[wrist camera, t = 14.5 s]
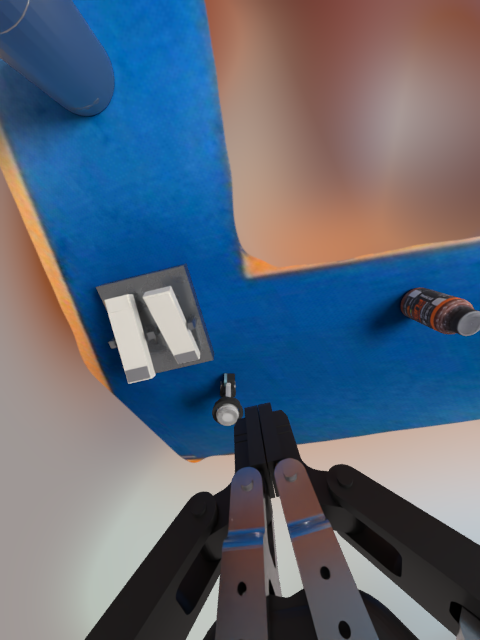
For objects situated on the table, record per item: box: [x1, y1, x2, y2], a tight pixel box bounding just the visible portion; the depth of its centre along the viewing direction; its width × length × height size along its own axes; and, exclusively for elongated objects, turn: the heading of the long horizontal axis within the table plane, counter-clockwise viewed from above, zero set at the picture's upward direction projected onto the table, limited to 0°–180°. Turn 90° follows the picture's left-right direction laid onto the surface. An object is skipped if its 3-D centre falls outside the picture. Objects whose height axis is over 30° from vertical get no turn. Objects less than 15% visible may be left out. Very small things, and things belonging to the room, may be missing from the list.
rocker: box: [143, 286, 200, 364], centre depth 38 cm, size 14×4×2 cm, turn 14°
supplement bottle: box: [400, 288, 480, 336], centre depth 39 cm, size 6×6×11 cm
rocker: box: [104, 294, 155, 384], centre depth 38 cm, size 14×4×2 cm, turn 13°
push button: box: [212, 373, 243, 426], centre depth 44 cm, size 7×5×10 cm
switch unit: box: [96, 264, 214, 373], centre depth 40 cm, size 18×15×7 cm
